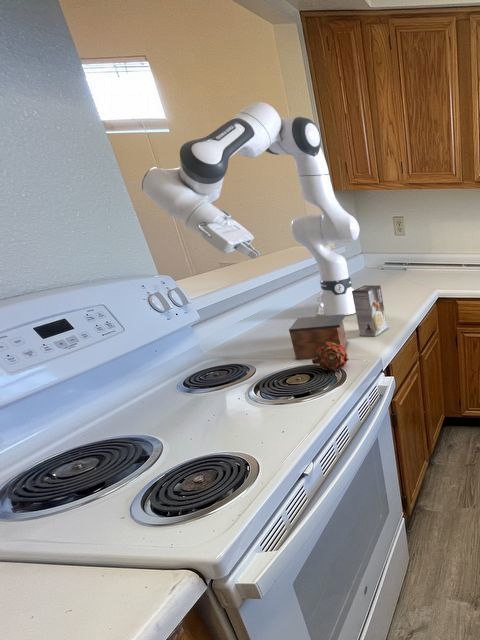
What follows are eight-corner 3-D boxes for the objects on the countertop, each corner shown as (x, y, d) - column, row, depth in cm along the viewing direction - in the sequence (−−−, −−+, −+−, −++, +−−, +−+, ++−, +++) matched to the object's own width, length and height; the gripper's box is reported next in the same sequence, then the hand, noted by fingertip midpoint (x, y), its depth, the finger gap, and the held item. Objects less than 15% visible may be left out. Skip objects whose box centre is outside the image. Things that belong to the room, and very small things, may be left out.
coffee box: (371, 327, 155) (364, 284, 148) (387, 328, 154) (381, 285, 147) (359, 335, 147) (351, 290, 140) (376, 336, 145) (368, 290, 139)
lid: (344, 316, 138) (344, 314, 138) (339, 327, 127) (339, 324, 126) (298, 320, 135) (297, 317, 135) (289, 331, 124) (288, 329, 124)
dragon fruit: (343, 380, 116) (325, 375, 124) (361, 356, 119) (342, 352, 127) (318, 362, 110) (301, 358, 118) (338, 337, 113) (320, 335, 121)
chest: (346, 341, 141) (342, 316, 138) (342, 354, 130) (337, 327, 126) (304, 345, 139) (298, 320, 135) (296, 359, 128) (289, 332, 124)
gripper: (199, 214, 104) (252, 252, 110) (228, 211, 122) (272, 244, 128) (185, 234, 105) (238, 270, 111) (216, 228, 123) (260, 259, 129)
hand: (257, 256), depth 120 cm, fingers closed
